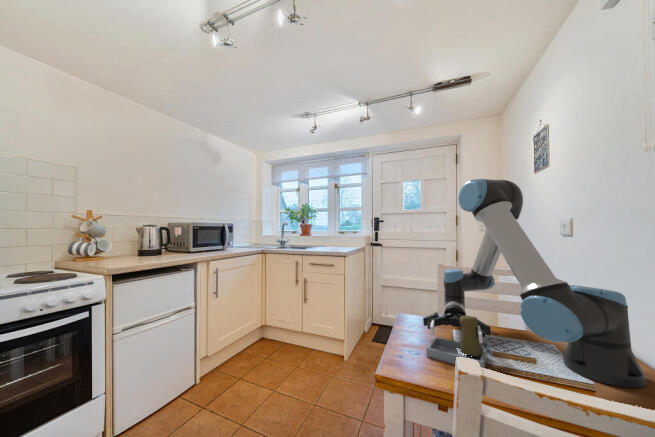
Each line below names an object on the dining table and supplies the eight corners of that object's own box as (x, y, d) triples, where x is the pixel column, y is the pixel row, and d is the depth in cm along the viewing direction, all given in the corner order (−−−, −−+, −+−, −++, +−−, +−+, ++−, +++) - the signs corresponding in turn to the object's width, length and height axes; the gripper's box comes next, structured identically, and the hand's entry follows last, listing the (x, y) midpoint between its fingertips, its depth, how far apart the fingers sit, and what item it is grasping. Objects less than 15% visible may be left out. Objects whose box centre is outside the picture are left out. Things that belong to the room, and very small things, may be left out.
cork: (487, 355, 75) (483, 317, 77) (473, 356, 73) (469, 317, 75) (469, 349, 80) (466, 314, 83) (456, 350, 78) (453, 314, 81)
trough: (487, 356, 77) (486, 348, 77) (483, 372, 69) (483, 362, 69) (435, 344, 87) (434, 336, 87) (426, 356, 78) (426, 348, 78)
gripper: (494, 329, 88) (504, 355, 69) (421, 319, 100) (413, 339, 81) (492, 308, 89) (503, 328, 70) (420, 300, 100) (412, 316, 81)
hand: (455, 334), depth 75 cm, fingers open, 13 cm apart
